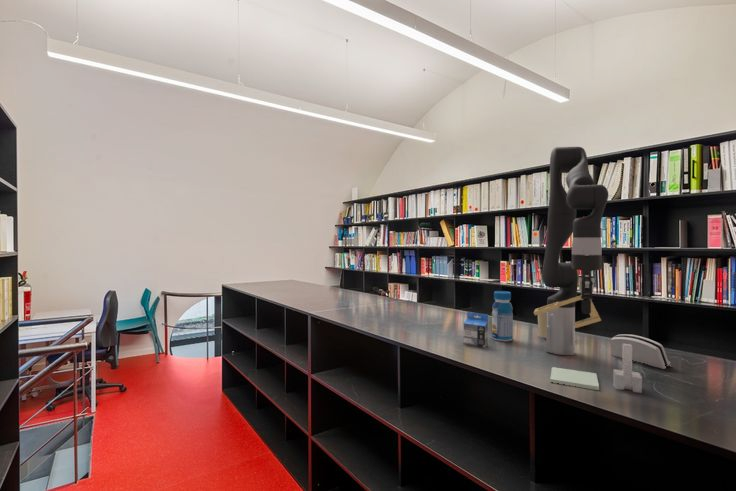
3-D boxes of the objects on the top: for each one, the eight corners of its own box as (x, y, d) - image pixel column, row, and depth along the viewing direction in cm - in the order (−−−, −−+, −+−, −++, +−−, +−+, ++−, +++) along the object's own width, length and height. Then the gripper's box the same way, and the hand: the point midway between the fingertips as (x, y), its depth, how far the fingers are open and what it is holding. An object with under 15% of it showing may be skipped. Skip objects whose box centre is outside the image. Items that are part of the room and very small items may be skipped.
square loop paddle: (545, 337, 110) (533, 312, 112) (546, 333, 116) (535, 308, 118) (601, 321, 103) (588, 294, 105) (599, 317, 109) (587, 291, 111)
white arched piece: (672, 366, 122) (667, 339, 120) (665, 373, 120) (659, 345, 118) (618, 353, 137) (613, 328, 135) (611, 359, 135) (606, 334, 133)
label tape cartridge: (462, 343, 149) (463, 313, 149) (466, 341, 152) (466, 311, 152) (484, 347, 143) (485, 315, 143) (488, 345, 146) (488, 314, 146)
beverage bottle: (506, 343, 150) (507, 293, 150) (487, 339, 156) (488, 291, 156) (516, 339, 156) (516, 292, 156) (497, 335, 162) (498, 290, 162)
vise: (615, 388, 102) (615, 345, 102) (611, 376, 112) (611, 336, 112) (641, 393, 100) (642, 348, 100) (635, 380, 109) (635, 339, 109)
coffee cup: (565, 338, 158) (566, 310, 158) (547, 340, 155) (548, 311, 155) (549, 333, 167) (549, 306, 167) (532, 334, 164) (532, 307, 164)
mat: (550, 382, 107) (550, 378, 107) (551, 370, 118) (551, 367, 118) (599, 390, 101) (599, 386, 101) (596, 376, 112) (596, 373, 112)
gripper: (571, 252, 116) (571, 308, 116) (571, 253, 104) (571, 315, 104) (599, 253, 112) (599, 310, 112) (603, 254, 100) (603, 318, 100)
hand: (586, 312), depth 108 cm, fingers closed on square loop paddle
